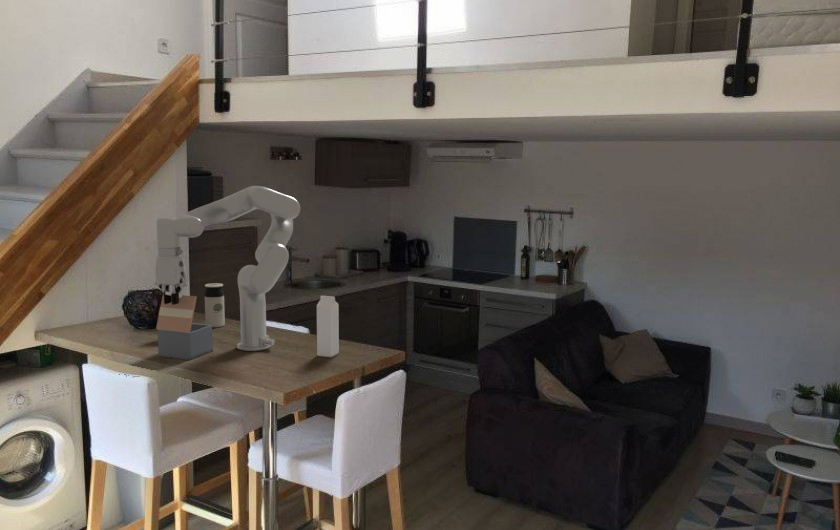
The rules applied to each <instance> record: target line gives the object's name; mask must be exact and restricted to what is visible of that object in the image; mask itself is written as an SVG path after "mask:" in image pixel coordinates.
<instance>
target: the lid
mask: <svg viewBox="0 0 840 530" xmlns="http://www.w3.org/2000/svg"><path fill="white" fill-rule="evenodd" d="M172 293H173V291H169V292H165V294H166V295H169V296H171V294H172ZM197 298H198V296H196V295H185V294H180V293H179V303H178V304H175V305H172V302H171V303H168V304H164V293H162V298H161V301H160V302H161V303H160V306H159V311H158V317H157V322H156V330H158V329H160V330H169V331H179V332H189V333H190V330H191V325H192V323H193V319H194V314H195V308H196V305H197V304H196V303H197ZM171 301H172V298H171Z"/></svg>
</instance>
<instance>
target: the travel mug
mask: <svg viewBox="0 0 840 530" xmlns="http://www.w3.org/2000/svg"><path fill="white" fill-rule="evenodd" d="M204 286H205V290H204V316H205V320H204V322H205V325H212V328H221V327H223V326H225V325H226V322H225V320H226V319H225V318H226V317H225V316H226V315H225V292H224V290H223V286H224V284H223V283H218V282H217V283H216V282H215V283H206V284H205V285H204Z"/></svg>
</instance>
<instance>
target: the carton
mask: <svg viewBox="0 0 840 530" xmlns="http://www.w3.org/2000/svg"><path fill="white" fill-rule="evenodd" d="M213 341H214V339H213V327H212V325H206V323H205V324H202V323H195V322H194V323H193V322H192V325H191V330H190V333H189V332H179V331H169V330H160V329H157V350H158V357H162V356H163V357H164V358H170V357H172V358H171V359H180V360H181V359H182V360H190V361H191V360H194V359H197V358H199V357H202V356H204V355H207V354H209V353H212V352H214V343H213ZM163 357H162V358H163Z"/></svg>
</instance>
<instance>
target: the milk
mask: <svg viewBox="0 0 840 530" xmlns="http://www.w3.org/2000/svg"><path fill="white" fill-rule="evenodd" d="M339 306H340V305H339V303H338V302H337V301H336V297H335V296H334V295H333V296H331V295H330V296H329V295H320V300H319V301H318V303H317V304H316V356H318V357H327V358H333V357H335V356H336V355H338V354H339V353H340V350H339V349H340V346H339V345H340V340H339V338H340V337H339V336H340V334H339V333H340V332H339V323H340V321H339V320H340V318H339V317H340V316H339V311H340V310H339Z"/></svg>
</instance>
